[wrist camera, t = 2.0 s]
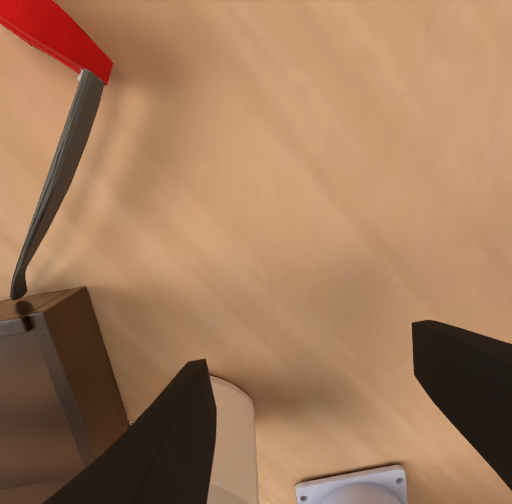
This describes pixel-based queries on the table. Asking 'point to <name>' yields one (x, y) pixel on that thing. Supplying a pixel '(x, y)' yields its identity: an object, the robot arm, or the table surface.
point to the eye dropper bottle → (233, 447)
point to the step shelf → (53, 394)
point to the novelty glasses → (84, 111)
